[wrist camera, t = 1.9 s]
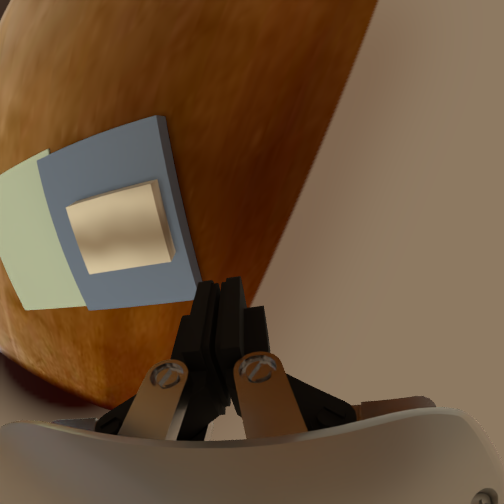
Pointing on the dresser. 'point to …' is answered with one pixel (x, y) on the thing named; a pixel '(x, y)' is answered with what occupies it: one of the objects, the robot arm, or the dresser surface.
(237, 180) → the dresser surface
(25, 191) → the mat
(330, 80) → the dresser surface
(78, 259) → the slate blue tile
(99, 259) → the birch block
